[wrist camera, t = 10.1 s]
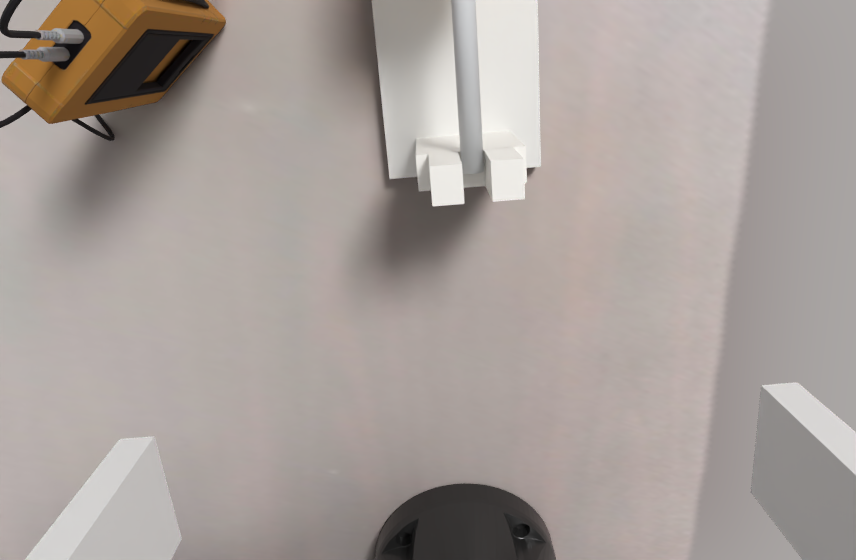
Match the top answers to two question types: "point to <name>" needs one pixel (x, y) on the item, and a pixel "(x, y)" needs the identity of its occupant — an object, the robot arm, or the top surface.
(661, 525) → the top surface
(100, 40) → the multimeter
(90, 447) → the top surface
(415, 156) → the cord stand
